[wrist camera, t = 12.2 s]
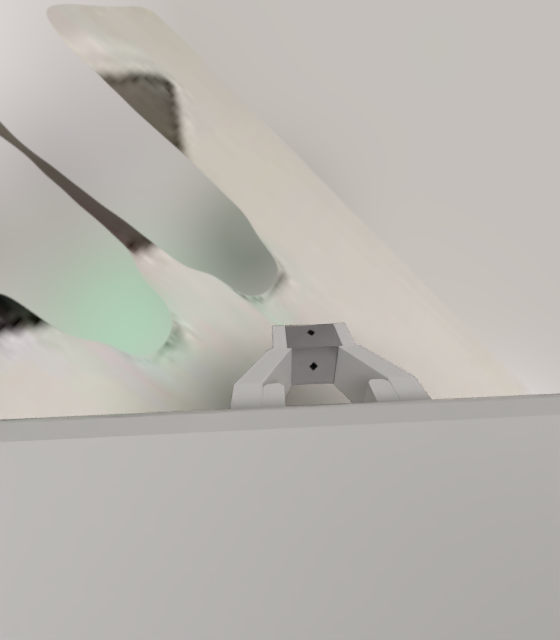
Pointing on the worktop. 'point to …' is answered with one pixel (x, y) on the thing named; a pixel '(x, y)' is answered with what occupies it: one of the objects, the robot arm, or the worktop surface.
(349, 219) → the worktop surface
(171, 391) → the worktop surface
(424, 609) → the robot arm
